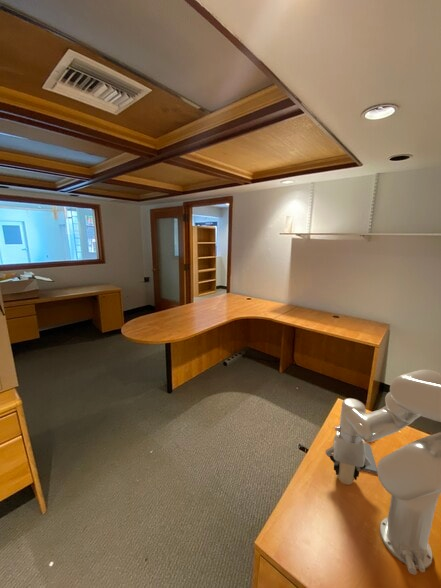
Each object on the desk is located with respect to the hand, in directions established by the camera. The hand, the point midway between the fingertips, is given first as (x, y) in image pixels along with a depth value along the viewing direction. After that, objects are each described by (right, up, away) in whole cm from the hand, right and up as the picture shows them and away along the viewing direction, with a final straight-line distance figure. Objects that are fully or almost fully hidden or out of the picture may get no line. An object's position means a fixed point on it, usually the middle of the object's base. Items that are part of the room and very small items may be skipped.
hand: (345, 473), depth 94 cm
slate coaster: (+9, 0, +11) cm, 14 cm away
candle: (0, -2, 0) cm, 2 cm away
